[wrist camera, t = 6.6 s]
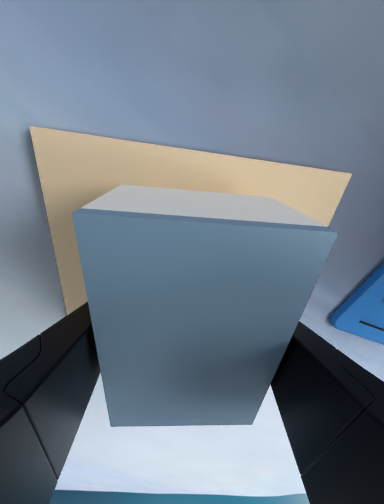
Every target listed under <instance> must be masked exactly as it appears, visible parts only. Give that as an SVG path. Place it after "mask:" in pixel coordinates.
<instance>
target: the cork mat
mask: <svg viewBox="0 0 384 504" xmlns="http://www.w3.org/2000/svg"><path fill="white" fill-rule="evenodd" d="M29 127H30V132H31V137H32V142H33V147H34V152H35V157H36V162H37V167H38V172H39V177H40V182H41V187H42V192H43V197H44V202H45V207H46V212H47V217H48V223H49V228H50V233H51V238H52V243H53V248H54V253H55V258H56V263H57V268H58V273H59V278H60V283H61V288H62V293H63V298H64V303H65V308H66V313H67V315H68V314H70V313H71V312H73V311H74V310H76V309H77V308H79V307H80V306H81V305H83V304H84V303H86V302H87V301H88V300H87V294H86V289H85V283H84V278H83V272H82V267H81V261H80V256H79V250H78V245H77V240H76V234H75V229H74V223H73V218H72V213H73V212H74V211H76V210H78V209H80V208H81V207H83V206H85V205H87V204H88V203H90V202H92V201H94V200H95V199H97V198H99V197H101V196H102V195H104V194H106V193H108V192H109V191H111V190H113V189H115V188H116V187H118V186H120V185H122V184H125V185H137V186H149V187H160V188H172V189H183V190H195V191H206V192H218V193H229V194H241V195H252V196H264V197H272V198H273V199H275V200H277V201H279V202H281V203H283V204H285V205H287V206H289V207H291V208H293V209H295V210H296V211H298V212H300V213H302V214H304V215H306V216H308V217H310V218H312V219H314V220H316V221H318V222H320V223H321V224H323V225H325V226H327V227H328V226H329V223H330V221H331V219H332V217H333V215H334V213H335V210H336V208H337V206H338V204H339V202H340V200H341V197H342V195H343V193H344V191H345V189H346V186H347V184H348V182H349V180H350V178H351V176H352V174H351V173H344V172H338V171H331V170H324V169H317V168H311V167H304V166H297V165H290V164H284V163H277V162H270V161H263V160H257V159H250V158H243V157H236V156H230V155H223V154H216V153H209V152H203V151H196V150H189V149H182V148H176V147H169V146H162V145H155V144H149V143H142V142H135V141H128V140H122V139H115V138H108V137H101V136H95V135H88V134H81V133H74V132H68V131H61V130H54V129H47V128H41V127H34V126H29Z"/></svg>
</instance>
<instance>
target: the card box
mask: <svg viewBox="0 0 384 504" xmlns="http://www.w3.org/2000/svg"><path fill="white" fill-rule="evenodd" d="M72 218H73V223H74V229H75V234H76V240H77V245H78V250H79V256H80V261H81V267H82V272H83V278H84V283H85V289H86V294H87V300H88V305H89V310H90V316H91V321H92V327H93V332H94V338H95V343H96V349H97V354H98V360H99V365H100V370H101V376H102V381H103V387H104V392H105V398H106V403H107V409H108V414H109V420H110V425H111V427H115V426H185V425H252V423H253V421H254V419H255V417H256V415H257V412H258V410H259V408H260V406H261V404H262V401H263V399H264V397H265V395H266V393H267V390H268V388H269V386H270V384H271V381H272V379H273V377H274V375H275V373H276V370H277V368H278V366H279V364H280V362H281V359H282V357H283V355H284V353H285V351H286V348H287V346H288V344H289V342H290V339H291V337H292V335H293V333H294V331H295V328H296V326H297V324H298V322H299V320H300V317H301V315H302V313H303V311H304V309H305V306H306V304H307V302H308V300H309V298H310V295H311V293H312V291H313V289H314V286H315V284H316V282H317V280H318V278H319V275H320V273H321V271H322V269H323V267H324V264H325V262H326V260H327V258H328V256H329V253H330V251H331V249H332V247H333V245H334V242H335V240H336V238H337V236H338V233H339V232H337V231H335V230H333V229H331V228H329V227H327V226H325V225H323V224H321V223H320V222H318V221H316V220H314V219H312V218H310V217H308V216H306V215H304V214H302V213H300V212H298V211H296V210H295V209H293V208H291V207H289V206H287V205H285V204H283V203H281V202H279V201H277V200H275V199H273V198H272V197H264V196H252V195H241V194H229V193H218V192H206V191H195V190H183V189H172V188H160V187H149V186H137V185H125V184H122V185H120V186H118V187H116V188H115V189H113V190H111V191H109V192H108V193H106V194H104V195H102V196H101V197H99V198H97V199H95V200H94V201H92V202H90V203H88V204H87V205H85V206H83V207H81V208H80V209H78V210H76V211H74V212H73V213H72Z"/></svg>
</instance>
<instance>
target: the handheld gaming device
mask: <svg viewBox="0 0 384 504" xmlns="http://www.w3.org/2000/svg"><path fill="white" fill-rule="evenodd" d="M330 322H331V323H332V324H333V325H334V326H335V327H336V328H337V329H340V330H343V331H346V332H349V333H351V334H354V335H357V336H360V337H363V338H366V339H369V340H372V341H375V342H378V343H381V344H384V262H383V263H382V264H381V265H380V266H379V267H378V268H377V269H376V270H375V271H374V272H373V273H372V274H371V275H370V276H369V277H368V278H367V280H366V281H365V282H364V283H363V284H362V285H361V286H360V287H359V288H358V289H357V290H356V291H355V292H354V293H353V294H352V295H351V296H350V297H349V298H348V299H347V300H346V301H345V302H344V303H343V304H342V305H341V306H340V307H339V308H338V309H337V310H336V311H335V312H334V313H333V314H332V316H331V318H330Z"/></svg>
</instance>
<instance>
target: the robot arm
mask: <svg viewBox="0 0 384 504" xmlns="http://www.w3.org/2000/svg"><path fill="white" fill-rule="evenodd" d="M100 372H101V370H100V365H99V360H98V354H97V349H96V343H95V338H94V332H93V327H92V321H91V316H90V310H89V305H88V301H87V302H86V303H84V304H83V305H81V306H80V307H79V308H77V309H76V310H74V311H73V312H71V313H70V314H68V315H67V316H65V317H64V318H62V319H61V320H60V321H58V322H57V323H55V324H54V325H52V326H51V327H49V328H48V329H46V330H45V331H43V332H42V333H41V334H40V335H37V336H36V337H35V338H33V339H32V340H30V341H29V342H27V343H26V344H24V345H23V346H21V347H20V348H18V349H17V350H15V351H14V352H12V353H10V354H9V355H7V356H6V357H4V358H2V359H1V360H0V504H49V502H50V500H51V497H52V494H53V492H54V489H55V487H56V484H57V480H58V479H59V476H60V474H61V471H62V469H63V466H64V464H65V461H66V459H67V456H68V453H69V451H70V448H71V446H72V443H73V441H74V438H75V436H76V433H77V431H78V428H79V425H80V423H81V420H82V418H83V415H84V413H85V410H86V408H87V405H88V403H89V400H90V397H91V395H92V392H93V390H94V387H95V385H96V382H97V380H98V377H99V375H100ZM271 387H272V390H273V393H274V396H275V399H276V402H277V405H278V408H279V411H280V414H281V417H282V421H283V424H284V427H285V430H286V433H287V436H288V439H289V442H290V445H291V448H292V451H293V454H294V457H295V460H296V463H297V466H298V469H299V472H300V474H301V478H302V481H303V484H304V487H305V490H306V493H307V496H308V499H309V502H310V504H384V382H383V381H382V380H380V379H379V378H377V377H376V376H374V375H373V374H371V373H370V372H368V371H367V370H366V369H364V368H363V367H361V366H360V365H358V364H357V363H356V362H354V361H353V360H351V359H350V358H349V357H347V356H346V355H345V354H343V353H342V352H340V351H339V350H338V349H336V348H335V347H334V346H332V345H331V344H330V343H328V342H327V341H326V340H324V339H323V338H321V337H320V336H319V335H317V334H316V333H315V332H313V331H312V330H311V329H309V328H308V327H307V326H305V325H304V324H302V323H301V322H300V321H299V322H298V324H297V326H296V328H295V331H294V333H293V335H292V337H291V339H290V342H289V344H288V346H287V348H286V351H285V353H284V355H283V357H282V359H281V362H280V364H279V366H278V368H277V370H276V373H275V375H274V377H273V379H272V381H271Z"/></svg>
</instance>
